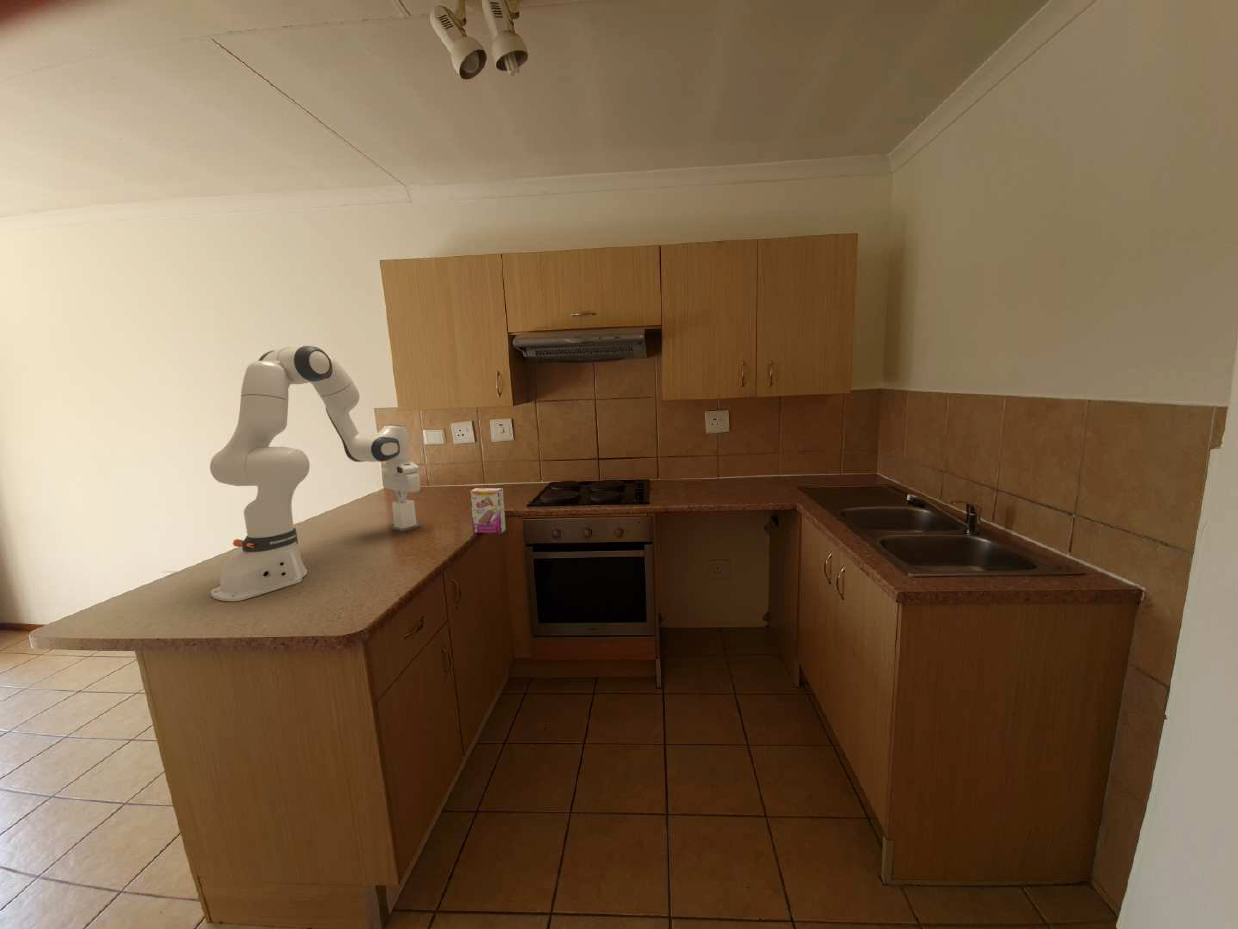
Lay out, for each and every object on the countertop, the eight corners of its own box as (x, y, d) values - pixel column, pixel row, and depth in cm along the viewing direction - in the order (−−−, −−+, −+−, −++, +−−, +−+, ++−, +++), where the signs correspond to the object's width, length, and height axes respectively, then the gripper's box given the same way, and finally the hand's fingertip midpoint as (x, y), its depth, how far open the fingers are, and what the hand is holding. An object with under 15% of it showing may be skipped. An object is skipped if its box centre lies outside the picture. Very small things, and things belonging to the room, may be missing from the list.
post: (402, 531, 185) (399, 512, 184) (390, 528, 189) (388, 509, 188) (420, 526, 191) (418, 507, 190) (409, 523, 196) (407, 504, 195)
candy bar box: (472, 534, 179) (469, 491, 177) (477, 530, 184) (474, 488, 182) (502, 534, 178) (498, 490, 176) (506, 530, 183) (503, 487, 180)
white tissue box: (402, 528, 186) (400, 504, 185) (394, 526, 190) (391, 502, 188) (416, 524, 191) (414, 501, 189) (407, 522, 194) (405, 499, 193)
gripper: (376, 465, 189) (380, 500, 192) (406, 469, 178) (410, 506, 180) (391, 463, 195) (395, 496, 197) (421, 467, 183) (425, 502, 185)
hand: (402, 501), depth 188 cm, fingers closed
